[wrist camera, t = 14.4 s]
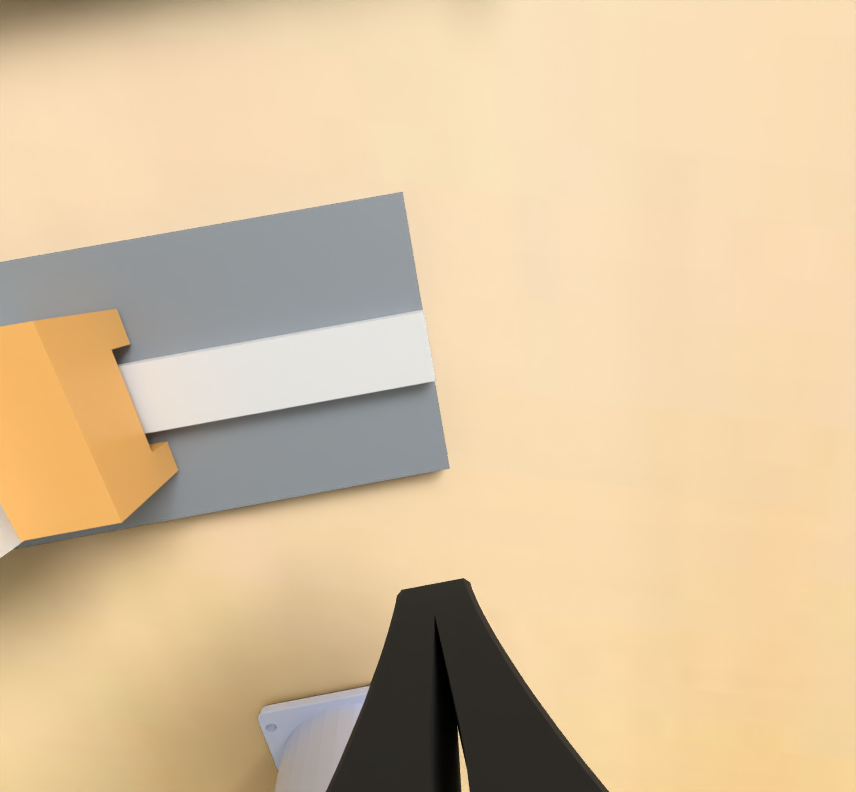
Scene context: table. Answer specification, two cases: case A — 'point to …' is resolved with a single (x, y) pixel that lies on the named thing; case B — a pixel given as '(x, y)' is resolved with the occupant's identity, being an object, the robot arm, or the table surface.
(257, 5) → the table surface
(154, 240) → the backplate
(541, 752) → the robot arm
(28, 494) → the block
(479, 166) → the table surface
